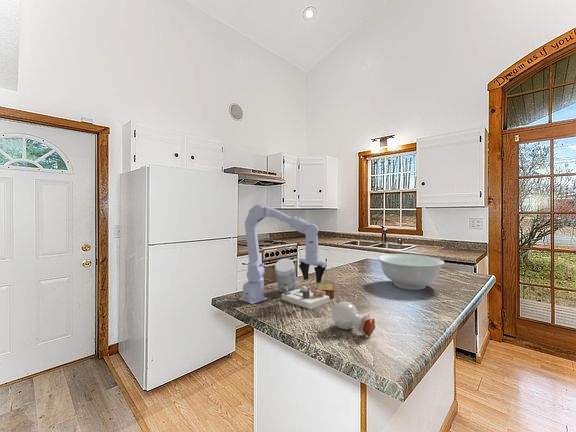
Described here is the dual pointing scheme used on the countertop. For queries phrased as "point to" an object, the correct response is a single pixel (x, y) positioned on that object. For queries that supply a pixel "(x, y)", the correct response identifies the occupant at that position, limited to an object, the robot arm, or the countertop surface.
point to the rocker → (318, 292)
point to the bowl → (411, 270)
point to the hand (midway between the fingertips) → (312, 281)
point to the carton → (327, 288)
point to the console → (305, 299)
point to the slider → (306, 293)
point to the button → (302, 288)
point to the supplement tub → (286, 274)
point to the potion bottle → (352, 318)
